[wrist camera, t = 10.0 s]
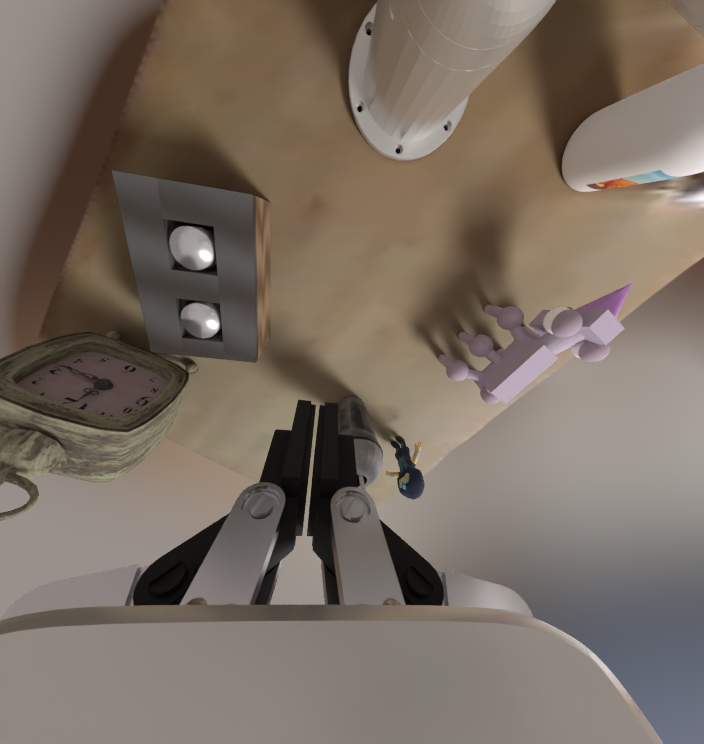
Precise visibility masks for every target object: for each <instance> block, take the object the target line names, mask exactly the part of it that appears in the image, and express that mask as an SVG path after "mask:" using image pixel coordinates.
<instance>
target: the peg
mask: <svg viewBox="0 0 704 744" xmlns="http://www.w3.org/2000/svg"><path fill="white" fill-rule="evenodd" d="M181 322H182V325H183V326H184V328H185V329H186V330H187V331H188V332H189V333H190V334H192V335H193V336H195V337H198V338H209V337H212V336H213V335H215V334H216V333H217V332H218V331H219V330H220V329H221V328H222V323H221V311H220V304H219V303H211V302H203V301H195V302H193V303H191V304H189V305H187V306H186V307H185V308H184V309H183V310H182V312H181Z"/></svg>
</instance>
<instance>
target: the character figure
mask: <svg viewBox="0 0 704 744" xmlns="http://www.w3.org/2000/svg"><path fill="white" fill-rule="evenodd" d="M396 440H397V442H398V443H400V444H401V449H400V445H399V444H398V443H397V442H394V441H393V442H391V445H392V446H393V447H394V448H395V449H396V453H395V457H396V459H397V460H398V464H399V467H400V472H394V473H390V472H388V471H386V475H387V476H390V477H398V479H397V481H398V487H399V491H400V493H401V494H402V495H404V496H405V497H407V498H411V499H416V498H418V497H420V495H421V494H422V492H423V489H424V480H423V476H422V473H421V471H420V470H418V469H416V468H415V465H416V462H417V459H418V457H419V454H420V450H421V448H422V443H420V442H419V443H418V446H417V445H416V444H415V453H414V455H413V458H412V460H411V457H410V454H409V448H408V447H406V444H405V441H404V439H403V438H401V437H396Z"/></svg>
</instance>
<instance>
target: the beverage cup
mask: <svg viewBox="0 0 704 744" xmlns="http://www.w3.org/2000/svg"><path fill="white" fill-rule="evenodd" d="M338 434H343V435H353V437H354V447H355V458H356V469H357V481H358V488H361V489H362V490H364V491H365V492H366V490H365V487H366V486H368V485H370V484H372V483H373V482H374V481H375V480H376V479H377V477H378V475H379V473H380V471H381V468H382V458H383V451H382V449H381V447H380V445H379V443H378V441H377V439H376V437H375V435H374V432H373V429H372V425H371V422H370V419H369V416H368V413H367V410H366V407H365V405H364V402H363V401H362V400H361V399H359V398H357V397H348V398H345V399H344V400H342V402H341V403H340V405H339V410H338Z"/></svg>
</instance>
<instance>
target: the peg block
mask: <svg viewBox="0 0 704 744" xmlns="http://www.w3.org/2000/svg"><path fill="white" fill-rule="evenodd" d="M112 175H113V180H114V184H115V189H116V194H117V198H118V203H119V207H120V212H121V217H122V221H123V226H124V230H125V235H126V240H127V244H128V249H129V253H130V258H131V263H132V267H133V272H134V277H135V281H136V286H137V290H138V295H139V300H140V304H141V309H142V313H143V318H144V323H145V327H146V332H147V336H148V341H149V346H150V350H151V352H158V353H167V354H177V355H187V356H196V357H206V358H216V359H226V360H235V361H245V362H255V363H256V361H257V360H258V358H259V356H260V355H261V353H262V351H263V350H264V348H265V346H266V345H267V343H268V341H269V340H270V202H268V201H266V200H264V199H261V198H259V197H257V196H254V195H252V194H246V193H240V192H235V191H229V190H223V189H217V188H212V187H206V186H200V185H194V184H189V183H183V182H177V181H171V180H165V179H160V178H154V177H148V176H142V175H137V174H131V173H125V172H119V171H114V170H112ZM201 225H206V226H213V227H214V237H215V249H216V262H217V265H215V266H212V267H208V268H205V269H201V270H191V269H188V268H186V267H184V266H183V265H181V264H180V263H179V262H178V261H177V260H176V259H175V257H174V256H173V254H172V252H171V249H170V244H169V241H170V236H171V234H172V232H173V231H174V230H175V229H176V228H178V227H181V226H201ZM195 301H203V302H211V303H219V304H220V311H221V323H222V328H221V329H220V330H219V331H218V332H217V333H216V334H215V335H213V336H212V337H209V338H198V337H195V336H193V335H192V334H190V333H189V332H188V331H187V330H186V329H185V328H184V326H183V325H182V322H181V312H182V310H183V309H184V308H185V307H186V306H187V305H189V304H191V303H193V302H195Z"/></svg>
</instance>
